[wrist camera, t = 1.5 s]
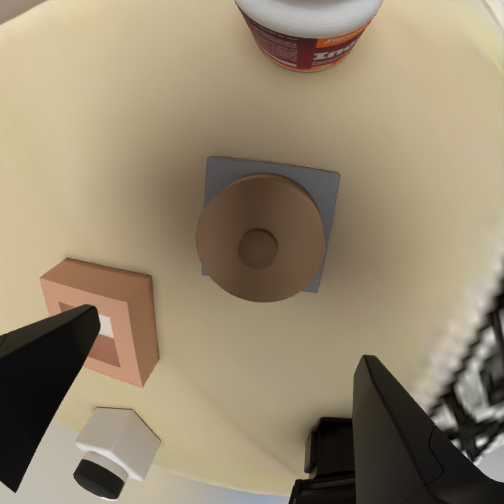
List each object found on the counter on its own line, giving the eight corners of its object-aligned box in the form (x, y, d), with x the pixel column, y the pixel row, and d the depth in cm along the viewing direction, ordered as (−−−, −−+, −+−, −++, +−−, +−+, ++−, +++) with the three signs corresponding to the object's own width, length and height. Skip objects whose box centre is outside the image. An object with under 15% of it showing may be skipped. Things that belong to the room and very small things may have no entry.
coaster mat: (338, 172, 18) (340, 174, 17) (316, 285, 21) (317, 293, 20) (211, 156, 19) (207, 157, 18) (205, 268, 22) (201, 274, 21)
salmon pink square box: (151, 276, 23) (127, 302, 19) (159, 358, 27) (142, 387, 23) (67, 257, 24) (39, 277, 20) (84, 335, 28) (63, 358, 24)
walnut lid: (330, 181, 17) (337, 194, 14) (311, 285, 20) (312, 318, 17) (214, 166, 18) (193, 176, 15) (209, 269, 21) (191, 298, 17)
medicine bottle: (96, 406, 34) (56, 469, 23) (133, 408, 32) (92, 484, 21) (124, 437, 36) (93, 498, 25) (162, 441, 34) (131, 511, 23)
